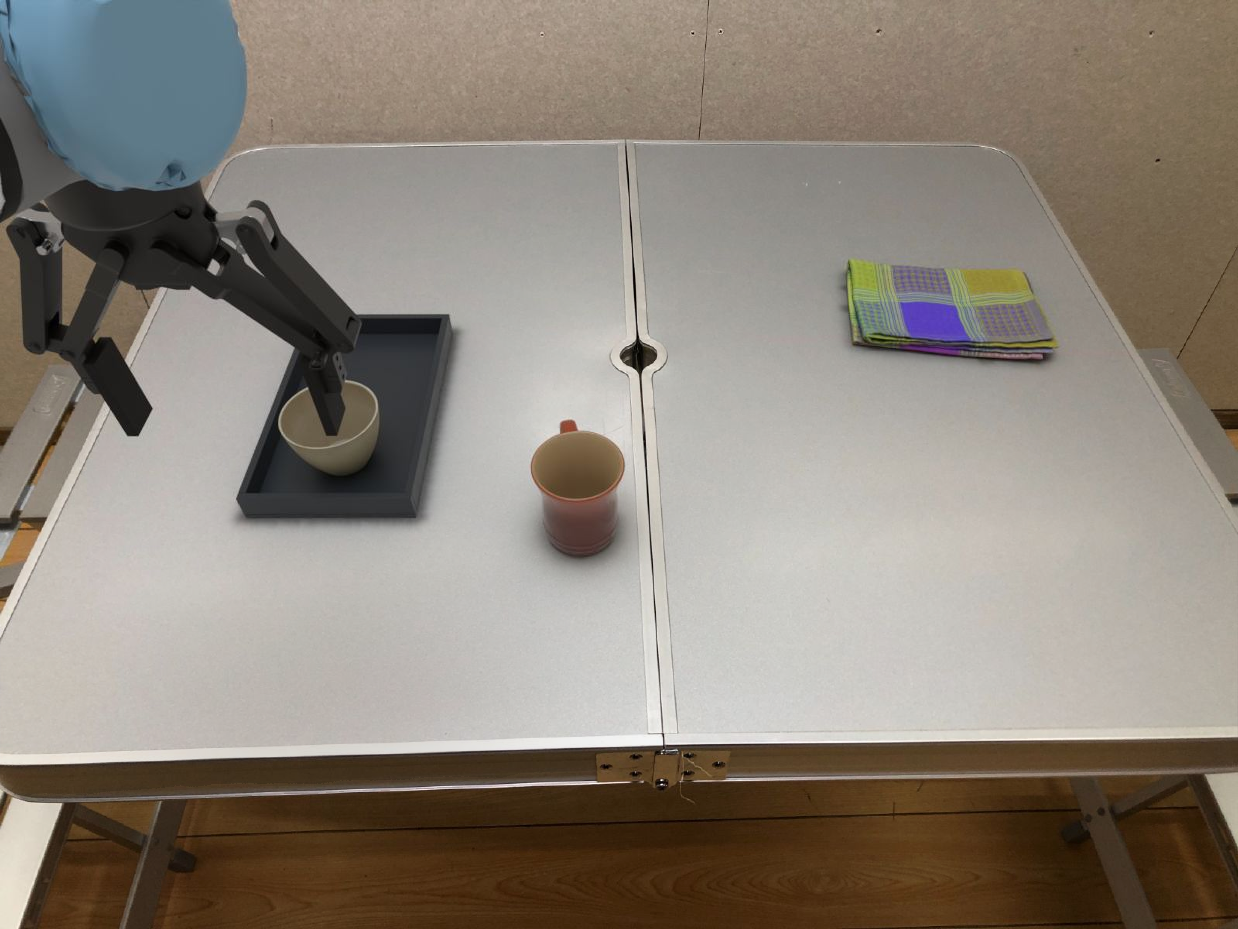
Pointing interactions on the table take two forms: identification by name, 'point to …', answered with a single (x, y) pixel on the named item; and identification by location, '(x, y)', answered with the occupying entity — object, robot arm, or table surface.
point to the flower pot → (353, 436)
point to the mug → (578, 488)
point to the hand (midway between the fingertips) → (238, 422)
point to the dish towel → (947, 310)
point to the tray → (408, 402)
